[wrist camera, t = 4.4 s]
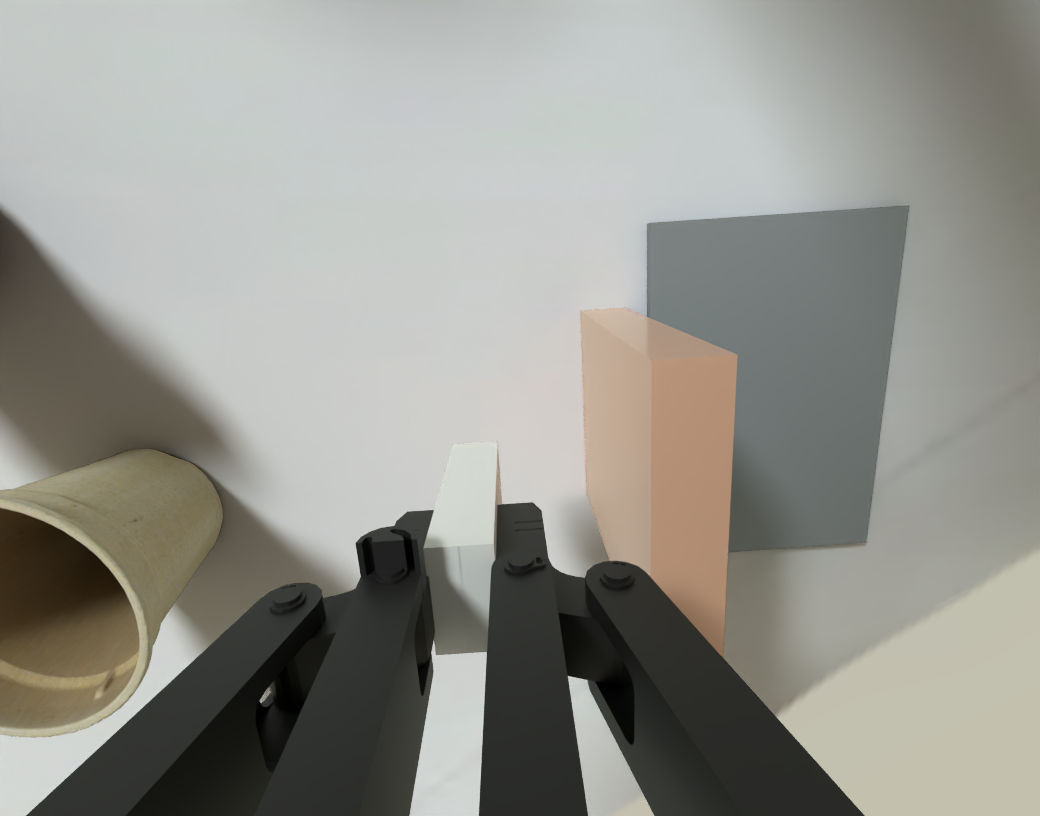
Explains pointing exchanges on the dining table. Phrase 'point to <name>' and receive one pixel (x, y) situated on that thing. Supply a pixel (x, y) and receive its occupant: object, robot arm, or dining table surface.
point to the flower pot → (93, 583)
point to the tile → (661, 455)
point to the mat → (791, 357)
